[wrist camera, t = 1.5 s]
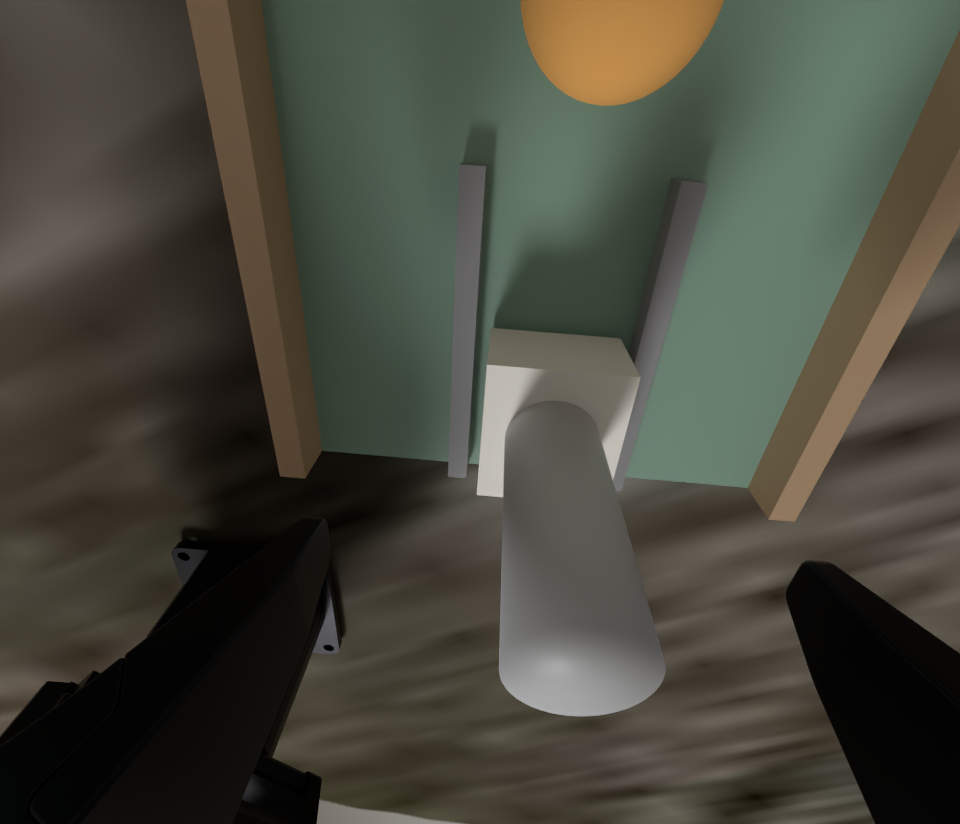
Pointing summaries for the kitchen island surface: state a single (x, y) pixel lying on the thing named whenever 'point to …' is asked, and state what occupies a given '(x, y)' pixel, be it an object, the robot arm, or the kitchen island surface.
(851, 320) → the pitch
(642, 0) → the ball
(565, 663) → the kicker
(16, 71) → the kitchen island surface
